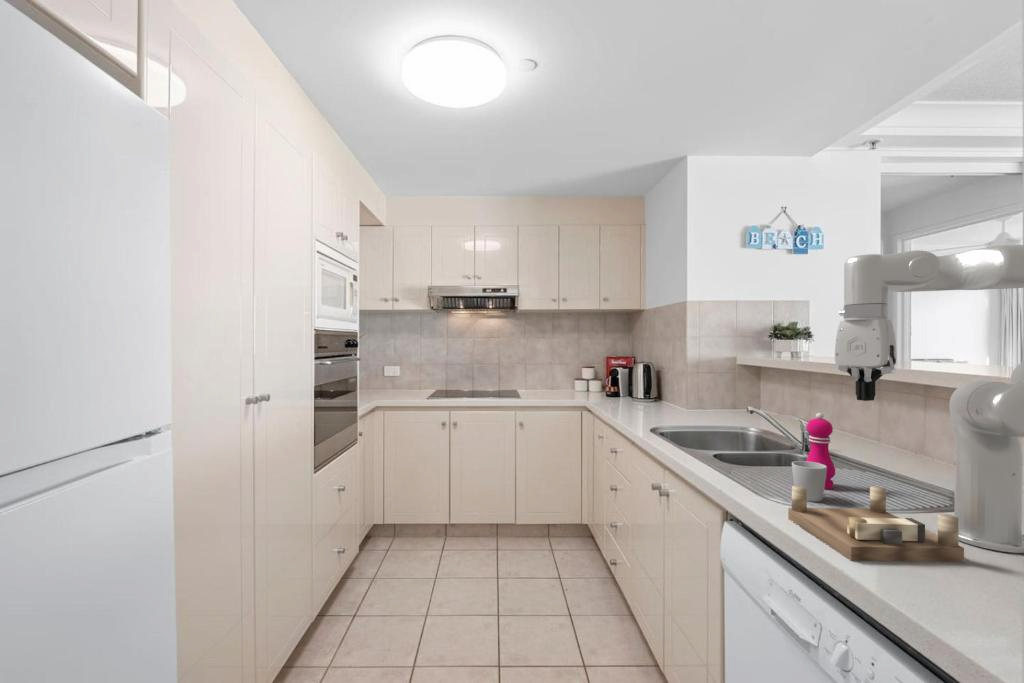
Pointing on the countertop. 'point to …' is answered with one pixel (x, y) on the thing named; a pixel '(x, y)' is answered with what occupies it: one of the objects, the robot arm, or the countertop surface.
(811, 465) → the cup
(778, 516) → the countertop surface
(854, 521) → the folding leg
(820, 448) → the pepper mill
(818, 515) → the stool seat
